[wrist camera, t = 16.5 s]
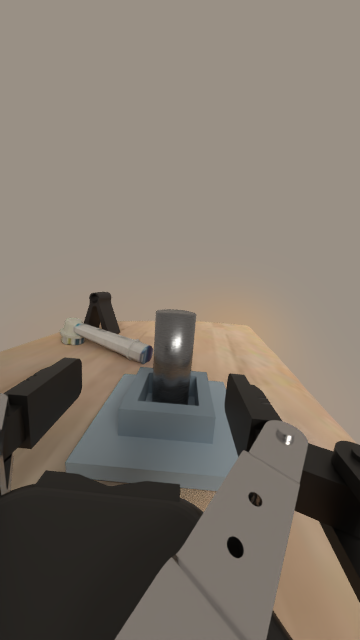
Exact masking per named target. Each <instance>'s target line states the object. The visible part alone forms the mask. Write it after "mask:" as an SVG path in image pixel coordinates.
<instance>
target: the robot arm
mask: <svg viewBox="0 0 360 640" xmlns="http://www.w3.org/2000/svg"><path fill="white" fill-rule="evenodd" d="M81 389H82V363H81V360H80V359H75V358H63V359H61V360H60V361H58V362H57V363H55V364H54V365H52V366H50V367H47V368H45V369H42V370H40V371H39V372H37V373H35V374H34V375H33V376H31V377H29V378H27V379H26V380H24V381H23V382H21V383H19V384H18V385H16V386H15V387H13V388H11V389H10V390H8V391H7V392H5V393H4V394H2V393H0V640H293V639H292V638H291V636H290V635H289V633H288V632H287V631H286V629H285V628H284V626H283V625H282V623H281V622H280V620H279V619H278V617H277V616H276V614H275V613H274V611H273V606H274V602H275V597H276V592H277V588H278V583H279V579H280V574H281V569H282V565H283V560H284V556H285V551H286V547H287V542H288V537H289V533H290V528H291V524H292V519H293V514H294V510H295V511H297V512H299V513H301V514H304V515H306V516H308V517H311V518H313V519H315V520H318V521H319V522H320V524H321V526H322V528H323V530H324V532H325V534H326V536H327V538H328V540H329V542H330V544H331V546H332V548H333V550H334V552H335V554H336V556H337V558H338V560H339V562H340V564H341V566H342V568H343V570H344V572H345V574H346V576H347V578H348V580H349V582H350V584H351V586H352V588H353V590H354V592H355V594H356V596H357V598H358V600H359V602H360V445H358V444H355V443H352V442H348V441H339V442H337V443H336V444H335V448H334V451H330V450H327V449H324V448H321V447H318V446H315V445H312V444H309V443H308V440H307V438H306V437H305V435H304V434H303V433H302V432H301V431H300V430H298V429H297V428H296V427H294V426H292V425H290V424H288V423H286V422H283V421H282V420H281V419H280V417H279V416H278V414H277V413H276V411H275V410H274V408H273V407H272V405H270V402H269V401H268V399H266V396H265V395H264V393H263V392H262V391H261V390H260V389H259V388H257V387H256V386H255V385H250V384H249V382H248V380H247V379H246V377H245V375H240V374H229V376H228V382H227V389H226V395H225V414H226V417H227V420H228V424H229V427H230V431H231V434H232V438H233V441H234V444H235V448H236V451H237V455H238V459H237V460H236V462H235V464H234V465H233V467H232V468H231V470H230V472H229V473H228V475H227V476H226V478H225V479H224V481H223V483H222V484H221V486H220V487H219V489H218V491H217V492H216V494H215V495H214V497H213V499H212V500H211V502H210V503H209V505H208V507H207V508H206V510H205V511H204V513H203V512H202V511H201V510H200V509H199V508H197V507H196V506H195V505H193V504H192V503H190V502H188V501H186V500H184V499H182V498H180V484H173V483H163V482H153V481H143V482H136V483H130V484H123V485H117V486H106V485H104V484H101V483H99V482H97V481H94V480H92V479H90V478H87V477H85V476H82V475H80V474H75V473H65V472H56V471H45V472H44V474H43V475H42V476H41V478H40V479H39V480H38V482H37V483H36V484H32V485H28V486H24V487H21V488H18V489H15V490H12V491H10V490H11V481H12V471H13V461H14V456H13V452H14V451H15V450H16V449H17V448H27V449H32V448H33V446H34V445H35V444H36V443H37V442H38V441H39V440H40V439H41V438H42V437H43V435H44V434H45V433H46V432H47V431H48V430H49V429H50V428H51V427H52V426H53V425H54V423H55V422H56V421H57V420H58V419H59V418H60V417H61V416H62V415H63V414H64V412H65V411H66V410H67V409H68V408H69V407H70V406H71V405H72V404H73V403H74V401H75V400H76V399H77V398H78V397H79V395H80V393H81Z"/></svg>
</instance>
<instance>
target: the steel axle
mask: <svg viewBox="0 0 360 640" xmlns="http://www.w3.org/2000/svg"><path fill="white" fill-rule="evenodd" d="M195 322H196V314H195V313H193V312H189V311H183V310H171V309H169V310H158V311H156V322H155V342H154V363H153V383H152V402H158V403H170V404H181V405H188V400H189V389H190V377H191V366H192V355H193V344H194V333H195Z"/></svg>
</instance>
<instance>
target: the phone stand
mask: <svg viewBox="0 0 360 640" xmlns="http://www.w3.org/2000/svg"><path fill="white" fill-rule="evenodd" d="M89 299H90V305H89V308H88V311H87V314H86V317H85V321H84V324H87V325H90V326H93V327H96V328H99V325H100V322H101V327H102V330H105V331H109V332H112V333H115V334H118V333H120V330H119V326H118V323H117V320H116V317H115V314H114V311H113V308H112V305H111V295H110V293H108V292H98V293H92V294H91V295H90V297H89Z"/></svg>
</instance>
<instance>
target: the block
mask: <svg viewBox="0 0 360 640" xmlns="http://www.w3.org/2000/svg"><path fill="white" fill-rule="evenodd" d="M152 383H153V368H147V367H140V369H139V371H138V373H137V375H132V374H124V375H123V377H122V378H121V380H120V381H119V383H118V384H117V386H116V387H115V389H114V390H113V392H112V393H111V395H110V396H109V398H108V399H107V401H106V402H105V404H104V405H103V407H102V408H101V410H100V411H99V413H98V414H97V416H96V417H95V419H94V420H93V422H92V423H91V425H90V426H89V428H88V429H87V431H86V432H85V434H84V435H83V437H82V438H81V440H80V441H79V443H78V444H77V446H76V447H75V449H74V450H73V452H72V453H71V455H70V456H69V458H68V459H67V461H66V462H65V464H66V473H75V474H80V475H82V476H85V477H87V478H90V479H94V480H104V481H115V482H126V483H136V482H143V481H153V482H163V483H173V484H180V488H189V489H200V490H211V491H218V489H219V487H220V486H221V484H222V483H223V481H224V479H225V478H226V476H227V475H228V473H229V472H230V470H231V468H232V467H233V465H234V464H235V462H236V460H237V459H238V455H237V451H236V448H235V444H234V441H233V438H232V434H231V431H230V427H229V424H228V420H227V417H226V414H225V395H226V388H225V386H224V383H223V382H217V381H208V378H207V373H206V372H196V371H191V377H190V389H189V400H188V405H181V404H170V403H158V402H152Z"/></svg>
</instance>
